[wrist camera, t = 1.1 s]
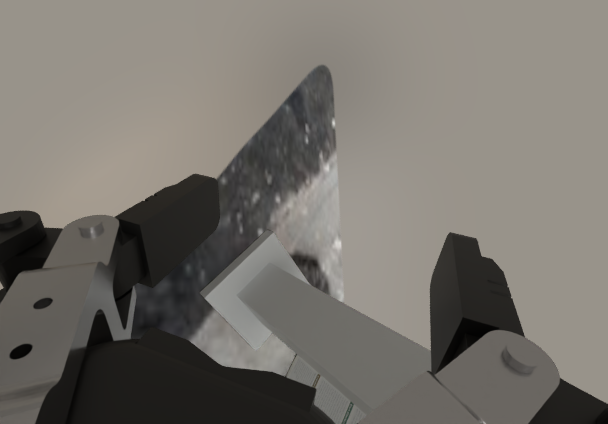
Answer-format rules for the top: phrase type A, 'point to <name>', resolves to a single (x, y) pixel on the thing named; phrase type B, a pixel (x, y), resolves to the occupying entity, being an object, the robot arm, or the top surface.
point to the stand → (314, 325)
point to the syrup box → (325, 394)
